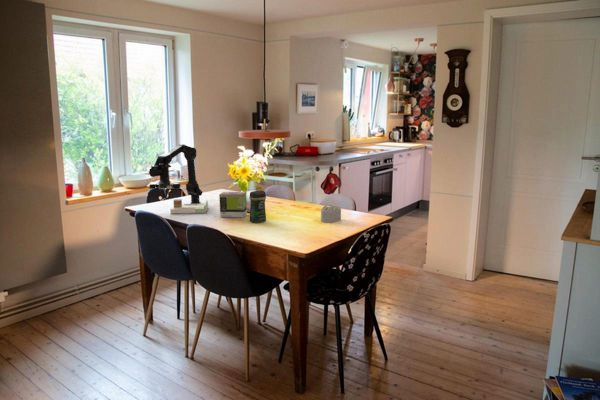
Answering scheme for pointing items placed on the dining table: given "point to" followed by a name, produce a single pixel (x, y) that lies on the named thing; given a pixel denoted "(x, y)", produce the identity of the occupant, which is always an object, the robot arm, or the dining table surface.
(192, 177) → the robot arm
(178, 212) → the trap board
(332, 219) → the lumpy-topped squat cylinder
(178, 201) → the walnut block
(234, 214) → the retro computer monitor
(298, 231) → the dining table surface
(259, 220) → the coffee jar
